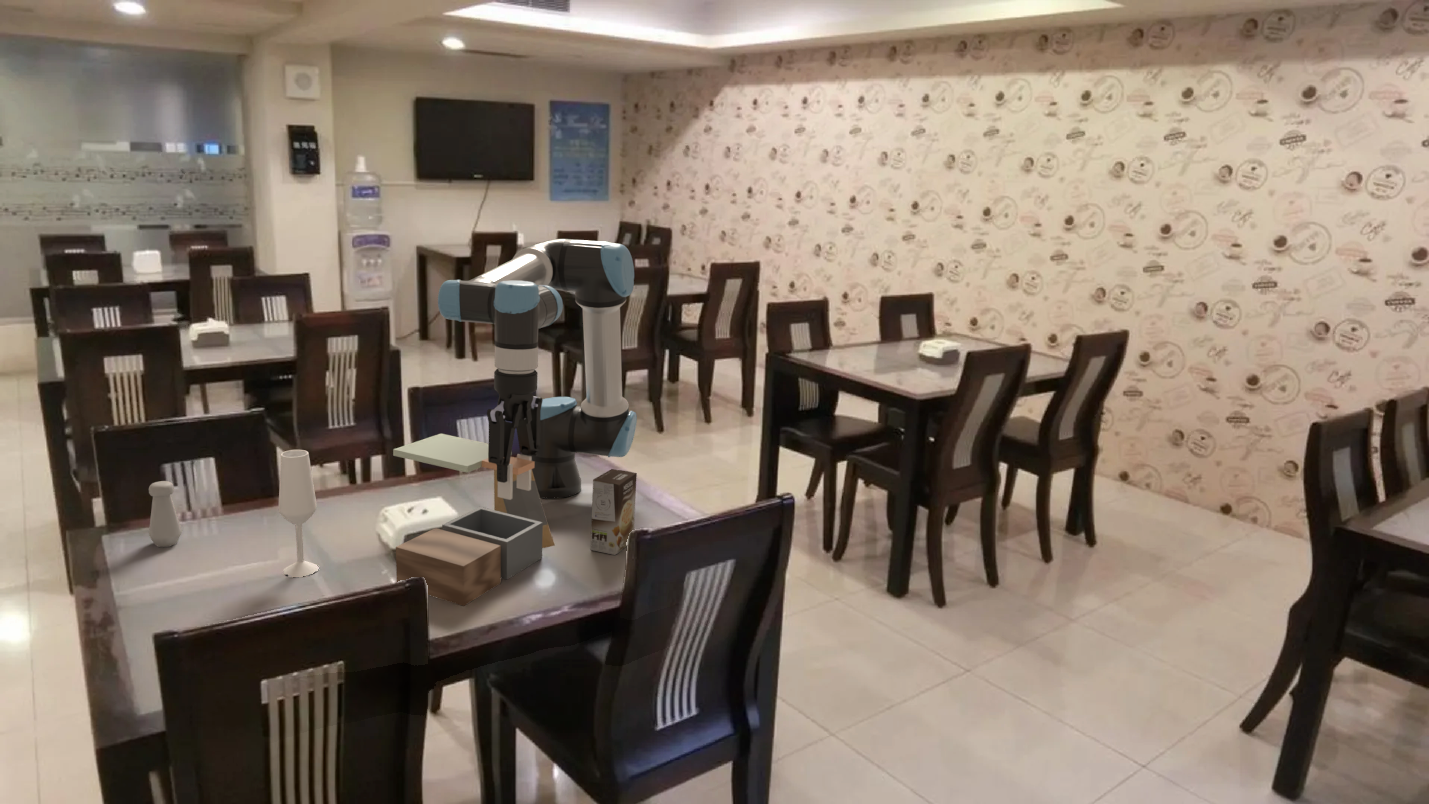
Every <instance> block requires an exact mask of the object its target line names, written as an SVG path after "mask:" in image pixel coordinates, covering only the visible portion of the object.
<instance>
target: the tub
mask: <svg viewBox="0 0 1429 804" xmlns="http://www.w3.org/2000/svg"><path fill="white" fill-rule="evenodd" d="M441 528H442V529H441V530H445V531H448V532H452V533H456V534H460V535H463V536H467V537H471V538H474V539H478V540H482V541H486V542H489V543H493V544H497V545H500V546H501V579H504V580H509V579H510V578H512V577H514V576H515V575H516V574H519V573H520V572H522V571H523V570H525V569H527V568H528V567H530V566H531V565H533V564H534V563H536V562H538V561H539V560H542V559H543V548H542V535H543V522H539V521H535V520H531V519H527V518H523V517H519V516H515V515H511V514H507V513H503V512H499V511H496V510H494V509H493V508H492V509H491V508H486V507H483V506H479V507H477V508H475V509H472V510H470V511H468V512H466V513H463V514H461V515H460V516H458V517H456V518H454V519H451V520H449V521H447V522H445V523H443V524H442V526H441Z"/></svg>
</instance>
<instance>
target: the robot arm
mask: <svg viewBox="0 0 1429 804" xmlns="http://www.w3.org/2000/svg"><path fill="white" fill-rule="evenodd" d="M632 257H633V256H632V255H631V252H630V250H629V249H628V248H627V246H625V245H624V244H621V243H615V242H610V241H601V240H600V241H599V240H584V239H571V238H555V239H548V240H544V241H541V242H537V243H535V244H532V245H529V246H526V247H524V248H522V249H520V250H519V251H517V252H516V253H515V254H514V256H513V257H512V259H511V260H509V261H507V262H505V263H503V264H500V265H499V266H497V267H494V268H493V269H490V270H489V271H486V272H484V273H482V274H480V275H478V276H475V277H474V278H472V279H470V280H461V279H449V280H448V279H447V280H446V281H443V283H442V284H441V286H440V288H439V289H438V290H439V291H438V295H437V306H438V307H437V308H438V311H439V313H440V316H442V317H443V318H444V319H446V320H451V321H458V322H460V323H461V322H464V323H465V322H466V323H477V324H478V323H479V324H480V323H481V324H489V325H491V324H492V325H494V367H495V368H496V369H495V370H494V371H493V372H494V373H493V378H494V379H493V380H494V381H493V389H494V391H496V392H497V394H498V400H497V404H496V405H497V406H496V407H495V408H494V409H491V408H488V409H487V411H486V416H487V417H486V418H487V420H488V444H489V445H488V461H489V462H490V463H495V464H496V465H497V481H498V497H500V498H504V499H509V500H511V499H512V493H513V464H509V463H510V458H511V457H512V455H511V452H512V451H513V444H514V438H515V434H516V435H517V442H518V446H519V447H518V448H519V452H520V453H517V455H516V458H520V459H525V460H530V461H534V462H535V464H534V468H533V469H531V470H532V472H533V476H534V479H535V483H536V486H537V489H538V493H539V496H540V499H563V498H567V497H572V496H575V495H576V494H578V493H580V492H581V490H582V478H581V477H580V473H579V469H578V465H577V462H576V453H577V454H584V455H593V456H602V457H607V458H623V457H625V456H626V455H628V453H629V452H630V450H631V447H632V445H633V441H634V438H635V435H636V434H635V433H636V428H637V421H638V417H637V412H635V411H633V410H630V409H629V408H630V405H629V402H628V400H627V399H626V398H625V397H623V381H622V379H623V377H622V373H623V372H622V371H623V370H622V341H621V339H622V338H621V335H622V334H621V307H622V306H623V305H625V303H626V302H627V297H629V296H631V294H632V293H633V290H634V284H635V281H634V280H635V267H634V261H633V258H632ZM558 291H564V292H572V293H573V292H574V298H575V300H574V301H575V303H576V304H577V305H578V306H580V307H581V309H582V323H583V324H582V327H583V344H584V347H583V348H584V351H583V352H584V371H585V391H586V393H585V396H586V397H585V399H584V400H582V401H581V403H580V405H578V402H577V400H576V398H575V397H571V396H553V397H546V398H542V397H540V396H534V394H533V393H535V392H536V391H537V390H538V371H537V370H536V369H537V368H538V367H539V329H541V328H546V327H549V326H551V325H552V324H554V322H556V321H557V320H558V319H559V318H560V317H561V315H562V312H563V308H564V304H563V299H562V296H561V295H560V293H559V292H558ZM515 432H516V433H515ZM512 453H513V452H512ZM531 470H528V471H526V472H524V473H522V474H519V475H517V488H518V489H523V490H527V491H529V490H531Z"/></svg>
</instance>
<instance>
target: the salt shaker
mask: <svg viewBox="0 0 1429 804" xmlns="http://www.w3.org/2000/svg"><path fill="white" fill-rule="evenodd" d="M174 492H175V487H174V483H172V482H171V481H168V480H161V481H155V482H152V483H151V484H150V485H149V487H148V494H149V495H150V496H151V497H152V502H151V511H150V512H151V513H150V521H149V528H148V536H149V538H150V539H151V541H152V543H153V545H155V546H157V547H158V548H163V547H164V548H167V547H171V546H173V545H177V544H178V541H179V539H180V537H181V536H182V532H183V529H182V526H181V522H180V520H179V517H178V515H177V514H178V513H177V511H176V508H175V504H174V501H173V498H172V494H173V493H174Z"/></svg>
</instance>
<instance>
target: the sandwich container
mask: <svg viewBox="0 0 1429 804" xmlns="http://www.w3.org/2000/svg"><path fill="white" fill-rule="evenodd" d="M493 490H494V491H493V492H494V494H493V495H494V496H493V499H494V500H493V501H494V502H493V505H494V506H493V507H494V509H493V510H496V511H499V512H503V513H507V514H511V515H515V516H519V517H523V518H527V519H531V520H535V521H539V522H543V535H542V549H545V548H549V547H555V546H556V543H555V541H554V539H553V538H554V537H553V535H552V532H551V528H550V526H549V523H548V520H547V516H546V512H545V510H544V506H543V503H542V498H540V496H539V493H538V489H537V486H536V483H535V479H534V476H533V472H532V470H531V490H529V491H527V490H523V489H518V488H517V475H516V474H513V493H512V499H511V500H509V499H504V498H500V497H498V481H497V470H493Z"/></svg>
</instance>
